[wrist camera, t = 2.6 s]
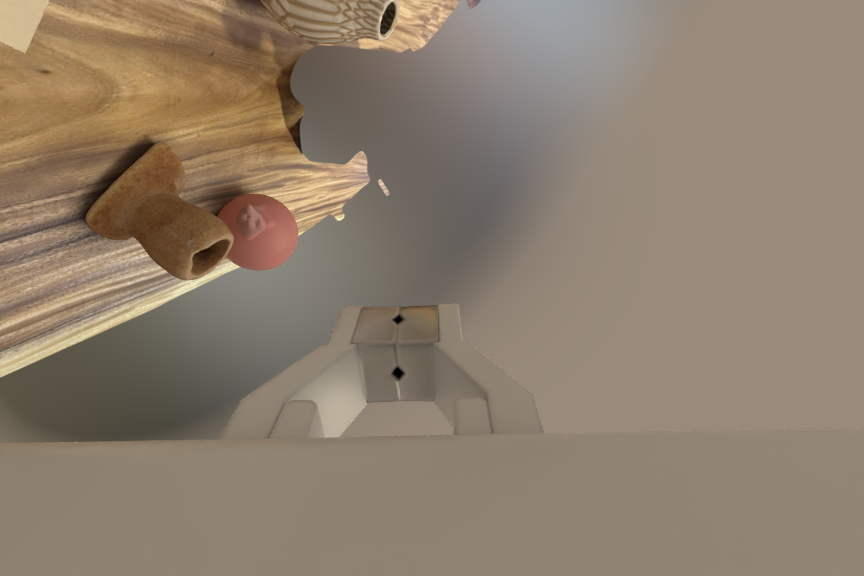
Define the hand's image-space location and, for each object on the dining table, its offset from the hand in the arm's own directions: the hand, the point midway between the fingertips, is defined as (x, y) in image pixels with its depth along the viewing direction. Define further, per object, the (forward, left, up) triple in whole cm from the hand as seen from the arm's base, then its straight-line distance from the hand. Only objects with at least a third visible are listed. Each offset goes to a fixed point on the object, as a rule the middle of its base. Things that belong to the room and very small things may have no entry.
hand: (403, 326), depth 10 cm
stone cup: (+42, +18, -46) cm, 65 cm away
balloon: (+56, +32, -46) cm, 79 cm away
